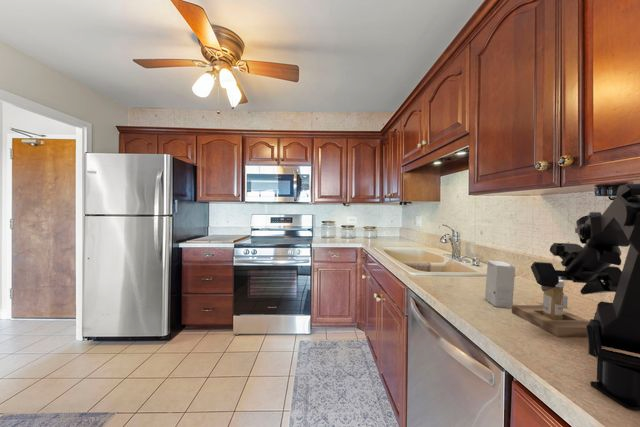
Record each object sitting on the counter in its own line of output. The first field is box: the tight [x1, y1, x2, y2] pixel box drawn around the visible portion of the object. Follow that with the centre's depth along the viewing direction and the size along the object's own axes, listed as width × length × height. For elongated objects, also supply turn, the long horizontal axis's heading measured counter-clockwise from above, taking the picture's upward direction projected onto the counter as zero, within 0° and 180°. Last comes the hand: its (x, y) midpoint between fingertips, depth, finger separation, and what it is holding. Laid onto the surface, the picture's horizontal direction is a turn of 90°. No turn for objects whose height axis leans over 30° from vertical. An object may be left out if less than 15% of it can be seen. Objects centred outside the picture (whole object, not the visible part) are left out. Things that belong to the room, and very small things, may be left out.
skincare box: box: [484, 259, 516, 309], centre depth 93 cm, size 8×6×15 cm
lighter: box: [563, 292, 569, 310], centre depth 91 cm, size 7×2×8 cm, turn 65°
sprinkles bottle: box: [542, 280, 565, 320], centre depth 77 cm, size 5×5×13 cm
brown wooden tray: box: [511, 304, 590, 338], centre depth 77 cm, size 16×13×2 cm
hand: (561, 291), depth 73 cm, fingers open, 9 cm apart
